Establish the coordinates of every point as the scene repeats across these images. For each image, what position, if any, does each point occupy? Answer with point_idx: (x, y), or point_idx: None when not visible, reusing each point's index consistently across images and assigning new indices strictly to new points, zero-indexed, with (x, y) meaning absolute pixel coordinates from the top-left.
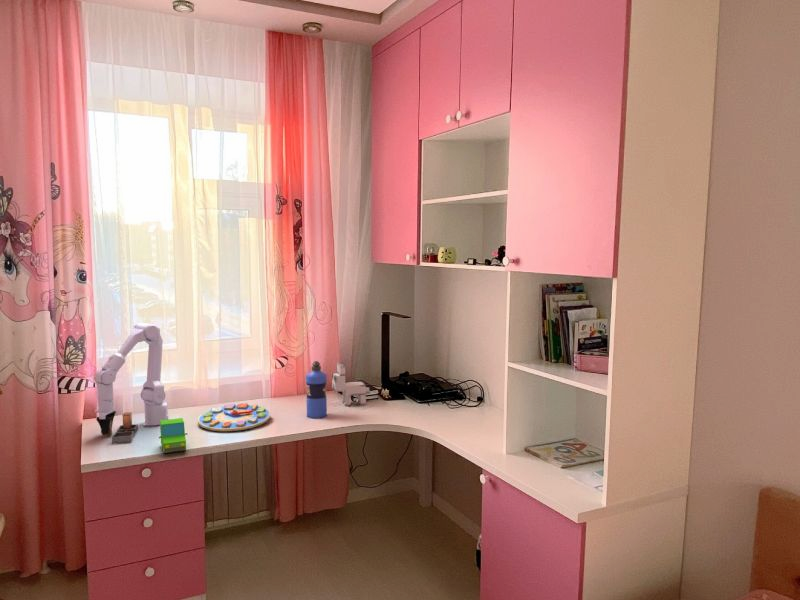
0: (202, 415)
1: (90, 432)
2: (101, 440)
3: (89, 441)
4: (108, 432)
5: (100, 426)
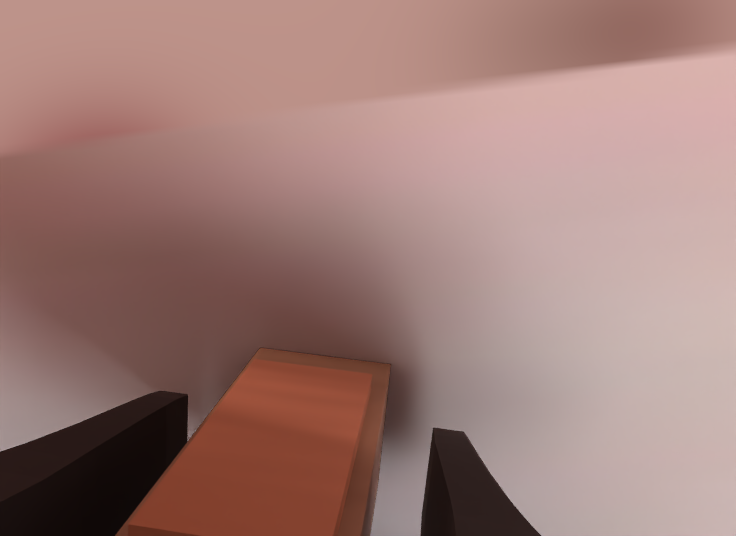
0: None
1: (686, 98)
2: (78, 347)
3: (64, 163)
4: None
5: (3, 457)
